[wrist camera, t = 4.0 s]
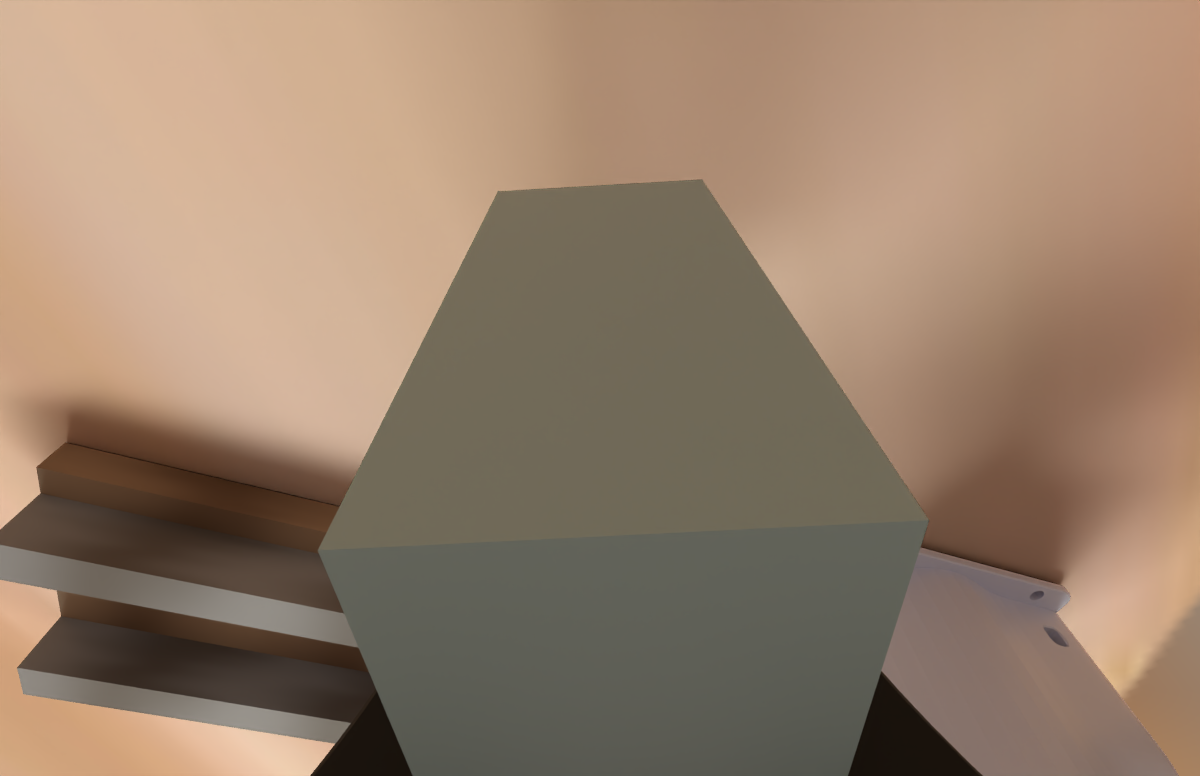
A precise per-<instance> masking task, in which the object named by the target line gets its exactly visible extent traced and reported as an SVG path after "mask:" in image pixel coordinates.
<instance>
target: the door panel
mask: <svg viewBox="0 0 1200 776" xmlns="http://www.w3.org/2000/svg"><path fill="white" fill-rule="evenodd" d="M928 522H929V519H928V518H927V516H926V515H925V513H924V512H923V510H922V509H921V507H920V506H919V504H918V503H917V501H916V500H915V498H914V497H913V495H912V494H911V492H910V491H909V489H908V488H907V486H906V485H905V483H904V482H903V480H902V479H901V477H900V476H899V474H898V473H897V471H896V470H895V468H894V467H893V465H892V464H891V462H890V461H889V459H888V458H887V456H886V455H885V453H884V452H883V450H882V449H881V447H880V446H879V444H878V443H877V441H876V440H875V438H874V437H873V435H872V434H871V432H870V431H869V429H868V428H867V426H866V425H865V423H864V422H863V420H862V419H861V417H860V416H859V414H858V413H857V411H856V410H855V408H854V407H853V405H852V404H851V402H850V401H849V399H848V398H847V396H846V395H845V393H844V392H843V390H842V389H841V387H840V386H839V384H838V383H837V381H836V380H835V378H834V377H833V375H832V374H831V372H830V371H829V369H828V368H827V366H826V365H825V363H824V362H823V360H822V359H821V357H820V356H819V354H818V353H817V351H816V350H815V348H814V347H813V345H812V344H811V342H810V341H809V339H808V338H807V336H806V335H805V333H804V332H803V330H802V329H801V327H800V326H799V324H798V323H797V321H796V320H795V318H794V317H793V315H792V314H791V312H790V311H789V309H788V308H787V306H786V305H785V303H784V302H783V300H782V299H781V297H780V296H779V294H778V293H777V291H776V290H775V288H774V287H773V285H772V284H771V282H770V281H769V279H768V278H767V276H766V275H765V273H764V272H763V270H762V269H761V267H760V266H759V264H758V263H757V261H756V260H755V258H754V257H753V255H752V254H751V252H750V251H749V249H748V248H747V246H746V245H745V243H744V242H743V240H742V239H741V237H740V236H739V234H738V233H737V231H736V230H735V228H734V227H733V225H732V224H731V222H730V221H729V219H728V218H727V216H726V215H725V213H724V212H723V210H722V209H721V207H720V206H719V204H718V203H717V201H716V200H715V198H714V197H713V195H712V194H711V192H710V191H709V189H708V188H707V186H706V185H705V183H704V182H703V180H686V181H669V182H651V183H634V184H617V185H600V186H583V187H565V188H548V189H531V190H514V191H498V192H497V194H496V196H495V198H494V200H493V202H492V204H491V206H490V208H489V210H488V212H487V214H486V216H485V218H484V220H483V222H482V224H481V226H480V228H479V230H478V232H477V234H476V236H475V238H474V240H473V242H472V244H471V246H470V248H469V250H468V252H467V254H466V256H465V258H464V260H463V262H462V264H461V266H460V268H459V270H458V272H457V274H456V276H455V278H454V280H453V282H452V284H451V286H450V288H449V290H448V292H447V294H446V296H445V298H444V300H443V302H442V304H441V306H440V308H439V310H438V312H437V314H436V316H435V318H434V320H433V322H432V324H431V326H430V328H429V330H428V332H427V334H426V336H425V338H424V340H423V342H422V344H421V346H420V348H419V350H418V352H417V354H416V356H415V358H414V360H413V362H412V364H411V366H410V368H409V370H408V372H407V374H406V376H405V378H404V380H403V382H402V384H401V386H400V387H399V389H398V391H397V393H396V395H395V397H394V399H393V401H392V403H391V405H390V407H389V409H388V411H387V413H386V415H385V417H384V419H383V421H382V423H381V425H380V427H379V429H378V431H377V433H376V435H375V437H374V439H373V441H372V443H371V445H370V447H369V449H368V451H367V453H366V455H365V457H364V459H363V461H362V463H361V465H360V467H359V469H358V471H357V473H356V475H355V477H354V479H353V481H352V483H351V485H350V487H349V489H348V491H347V493H346V495H345V497H344V499H343V501H342V503H341V505H340V507H339V509H338V511H337V513H336V515H335V517H334V519H333V521H332V523H331V525H330V527H329V529H328V531H327V533H326V535H325V537H324V539H323V541H322V543H321V545H320V547H319V549H318V553H319V555H320V557H321V560H322V562H323V564H324V567H325V569H326V572H327V574H328V576H329V579H330V581H331V583H332V586H333V588H334V590H335V593H336V595H337V598H338V600H339V602H340V605H341V607H342V609H343V612H344V614H345V617H346V619H347V621H348V624H349V626H350V628H351V631H352V633H353V635H354V638H355V640H356V643H357V645H358V647H359V650H360V652H361V654H362V657H363V659H364V662H365V664H366V666H367V669H368V671H369V673H370V676H371V678H372V680H373V683H374V685H375V688H376V690H377V692H378V695H379V697H380V699H381V702H382V704H383V707H384V709H385V711H386V714H387V716H388V718H389V721H390V723H391V725H392V728H393V730H394V733H395V735H396V737H397V740H398V742H399V744H400V747H401V749H402V752H403V754H404V756H405V759H406V761H407V763H408V766H409V768H410V770H411V773H412V775H413V776H848V774H849V771H850V768H851V765H852V761H853V758H854V755H855V752H856V749H857V746H858V743H859V739H860V736H861V733H862V730H863V727H864V724H865V721H866V717H867V714H868V711H869V708H870V705H871V702H872V698H873V695H874V692H875V689H876V686H877V683H878V680H879V676H880V673H881V670H882V667H883V664H884V661H885V658H886V654H887V651H888V648H889V645H890V642H891V639H892V636H893V632H894V629H895V626H896V623H897V620H898V617H899V614H900V610H901V607H902V604H903V601H904V598H905V595H906V592H907V588H908V585H909V582H910V579H911V576H912V573H913V569H914V566H915V563H916V560H917V557H918V554H919V551H920V547H921V544H922V541H923V538H924V535H925V532H926V529H927V525H928Z"/></svg>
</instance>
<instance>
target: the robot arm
mask: <svg viewBox="0 0 1200 776" xmlns="http://www.w3.org/2000/svg"><path fill="white" fill-rule="evenodd" d="M1070 597H1071V596H1070V594H1069V592H1068V591H1067V590H1066V589H1065V587H1063V586H1061V585H1058V584H1054V583H1050V582H1047V581H1043V580H1039V579H1036V578H1032V577H1028V576H1024V575H1021V574H1017V573H1013V572H1010V571H1006V570H1002V569H999V568H995V567H991V566H987V565H984V564H980V563H976V562H973V561H969V560H965V559H962V558H958V557H954V556H950V555H947V554H943V553H939V552H936V551H932V550H928V549H925V548H921V547H920V551H919V554H918V557H917V560H916V563H915V566H914V569H913V573H912V576H911V579H910V582H909V585H908V588H907V592H906V595H905V598H904V601H903V604H902V607H901V610H900V614H899V617H898V620H897V623H896V626H895V629H894V632H893V636H892V639H891V642H890V645H889V648H888V651H887V654H886V658H885V661H884V664H883V667H882V670H881V673H880V676H879V680H878V683H877V686H876V689H875V692H874V695H873V698H872V702H871V705H870V708H869V711H868V714H867V717H866V721H865V724H864V727H863V730H862V733H861V736H860V739H859V743H858V746H857V749H856V752H855V755H854V758H853V761H852V765H851V768H850V771H849V774H848V776H1178V774H1177V772H1176V770H1175V769H1174V767H1173V765H1172V764H1171V762H1170V761H1169V759H1168V758H1167V756H1166V755H1165V754H1164V752H1163V751H1162V750H1161V748H1160V747H1159V746H1158V744H1157V743H1156V742H1155V740H1154V739H1153V738H1152V737H1151V735H1150V734H1149V733H1148V731H1147V730H1146V729H1145V728H1144V726H1143V725H1142V724H1141V722H1140V721H1139V720H1138V718H1137V717H1136V716H1135V714H1134V713H1133V712H1132V711H1131V709H1130V708H1129V707H1128V705H1127V704H1126V703H1125V701H1124V700H1123V699H1122V698H1121V696H1120V695H1119V694H1118V692H1117V691H1116V690H1115V689H1114V687H1113V686H1112V685H1111V683H1110V682H1109V681H1108V679H1107V678H1106V677H1105V676H1104V674H1103V673H1102V672H1101V670H1100V669H1099V668H1098V666H1097V665H1096V664H1095V663H1094V661H1093V660H1092V659H1091V657H1090V656H1089V655H1088V653H1087V652H1086V651H1085V650H1084V648H1083V647H1082V646H1081V644H1080V643H1079V642H1078V640H1077V639H1076V638H1075V637H1074V635H1073V634H1072V633H1071V631H1070V630H1069V629H1068V627H1067V626H1066V625H1065V624H1064V622H1063V621H1062V620H1061V618H1060V617H1059V616H1058V614H1057V613H1056V612H1058V611H1059V610H1060V609H1061V608H1062V607H1063V606H1065V605H1066V604H1067V603H1068V602H1069V601H1070ZM311 776H413V775H412V773H411V770H410V768H409V766H408V763H407V761H406V759H405V756H404V754H403V752H402V749H401V747H400V744H399V742H398V740H397V737H396V735H395V733H394V730H393V728H392V725H391V723H390V721H389V718H388V716H387V714H386V711H385V709H384V707H383V704H382V702H381V699H380V697H379V695H378V692H377V690H376V689H375V690H374V691H373V693H372V694H371V696H370V697H369V699H368V700H367V702H366V703H365V704H364V706H363V707H362V709H361V710H360V712H359V713H358V714H357V716H356V717H355V718H354V720H353V721H352V722H351V724H350V725H349V726H348V728H347V729H346V730H345V732H344V733H343V734H342V736H341V737H340V738H339V740H338V741H337V742H336V744H335V745H334V746H333V748H332V749H331V750H330V752H329V753H328V754H327V755H326V757H325V758H324V759H323V760H322V762H321V763H320V764H319V765H318V767H317V768H316V769H315V770H314V772H313V773H312V774H311Z"/></svg>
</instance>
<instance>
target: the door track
mask: <svg viewBox="0 0 1200 776" xmlns="http://www.w3.org/2000/svg"><path fill="white" fill-rule="evenodd" d="M36 468H37V474H38V480H39V486H40V492H41V494H40V495H38V496H37V497H36V498H35V499H34V500H33V501H32V502H31V503H30V504H28V505H27V506H26V507H25V508H24V509H23V510H22V511H21V512H20V513H18V514H17V515H16V516H15V517H14V518H13V519H12V520H11V521H10V522H8V523H7V524H6V525H5V526H4V527H3V528H2V529H1V530H0V580H5V581H10V582H16V583H21V584H26V585H31V586H37V587H42V588H47V589H53V590H57V594H58V600H59V606H60V612H61V617H60V618H59V619H58V621H57V622H56V623H55V624H54V625H53V626H52V628H51V629H50V630H49V631H48V632H47V633H46V635H45V636H44V637H43V638H42V639H41V640H40V642H39V643H38V644H37V645H36V646H35V647H34V649H33V650H32V651H31V652H30V653H29V654H28V656H27V657H26V658H25V659H24V660H23V662H22V663H21V664H20V665H19V666H18V667H17V669H18V673H19V678H20V682H21V686H22V690H23V694H26V695H32V696H38V697H44V698H51V699H57V700H63V701H70V702H76V703H82V704H89V705H95V706H101V707H108V708H114V709H120V710H127V711H133V712H139V713H145V714H152V715H158V716H164V717H171V718H177V719H183V720H190V721H196V722H202V723H209V724H215V725H221V726H228V727H234V728H240V729H247V730H253V731H259V732H265V733H272V734H278V735H284V736H291V737H297V738H303V739H310V740H316V741H322V742H329V743H335V744H336V742H337V741H338V740H339V738H340V737H341V736H342V734H343V733H344V732H345V730H346V729H347V728H348V726H349V725H350V724H351V722H352V721H353V720H354V718H355V717H356V716H357V714H358V713H359V712H360V710H361V709H362V707H363V706H364V704H365V703H366V702H367V700H368V699H369V697H370V696H371V694H372V693H373V691H374V690H375V689H376V688H375V685H374V683H373V680H372V678H371V676H370V673H369V671H368V669H367V666H366V664H365V662H364V659H363V657H362V654H361V652H360V650H359V647H358V645H357V643H356V640H355V638H354V635H353V633H352V631H351V628H350V626H349V624H348V621H347V619H346V617H345V614H344V612H343V609H342V607H341V605H340V602H339V600H338V598H337V595H336V593H335V590H334V588H333V586H332V583H331V581H330V579H329V576H328V574H327V572H326V569H325V567H324V564H323V562H322V560H321V557H320V555H319V553H318V549H319V547H320V545H321V543H322V541H323V539H324V537H325V535H326V533H327V531H328V529H329V527H330V525H331V523H332V521H333V519H334V517H335V515H336V513H337V511H338V509H339V506H334V505H330V504H326V503H322V502H317V501H313V500H309V499H304V498H300V497H296V496H292V495H287V494H283V493H279V492H274V491H270V490H266V489H262V488H257V487H253V486H249V485H244V484H240V483H236V482H232V481H227V480H223V479H219V478H215V477H210V476H206V475H202V474H197V473H193V472H189V471H185V470H180V469H176V468H172V467H167V466H163V465H159V464H155V463H150V462H146V461H142V460H137V459H133V458H129V457H125V456H120V455H116V454H112V453H107V452H103V451H99V450H95V449H90V448H86V447H82V446H77V445H73V444H69V443H65V444H63V445H62V446H61V447H60V448H59V449H57V450H56V451H55V452H54V453H53V454H51V455H50V456H49V457H48V458H47V459H46V460H44V461H43V462H42V463H41V464H40V465H38V466H37V467H36Z"/></svg>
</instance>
